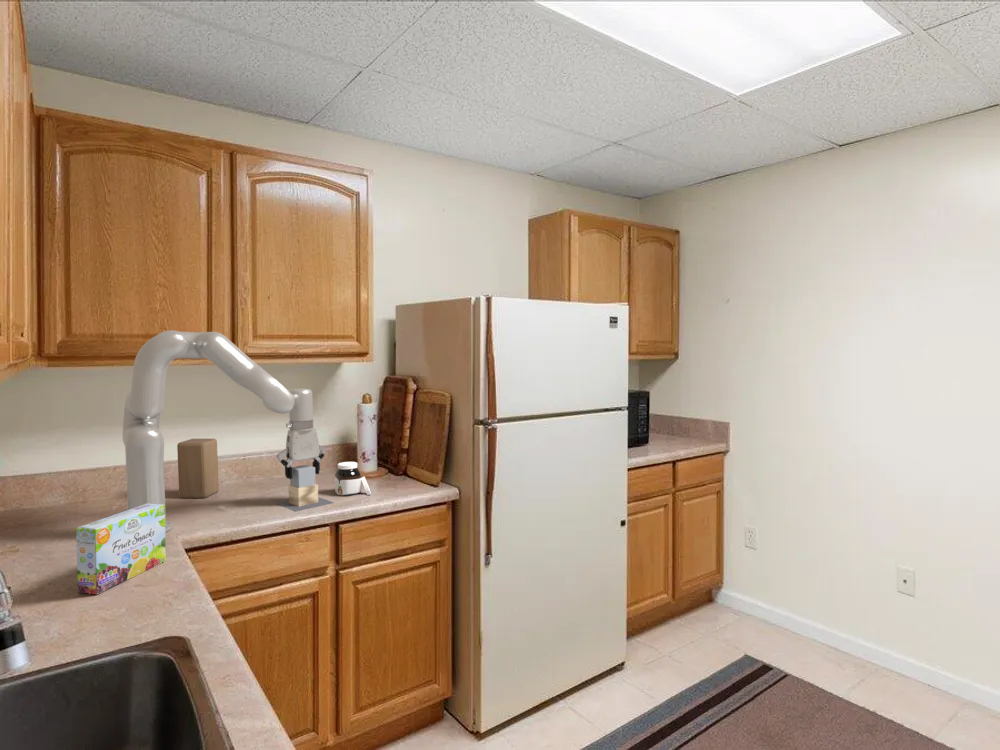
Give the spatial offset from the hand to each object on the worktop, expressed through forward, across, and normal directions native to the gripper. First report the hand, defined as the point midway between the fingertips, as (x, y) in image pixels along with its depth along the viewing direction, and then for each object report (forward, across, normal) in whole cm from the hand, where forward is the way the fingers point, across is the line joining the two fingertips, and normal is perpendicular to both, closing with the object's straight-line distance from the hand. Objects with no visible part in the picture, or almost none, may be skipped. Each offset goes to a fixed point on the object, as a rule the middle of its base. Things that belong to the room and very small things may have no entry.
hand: (302, 475), depth 203 cm
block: (+10, -19, +41) cm, 46 cm away
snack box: (+10, -59, -26) cm, 66 cm away
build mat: (+10, 0, 0) cm, 10 cm away
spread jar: (+10, +19, -1) cm, 22 cm away
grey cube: (+3, 0, 0) cm, 3 cm away
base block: (+9, 0, 0) cm, 9 cm away
